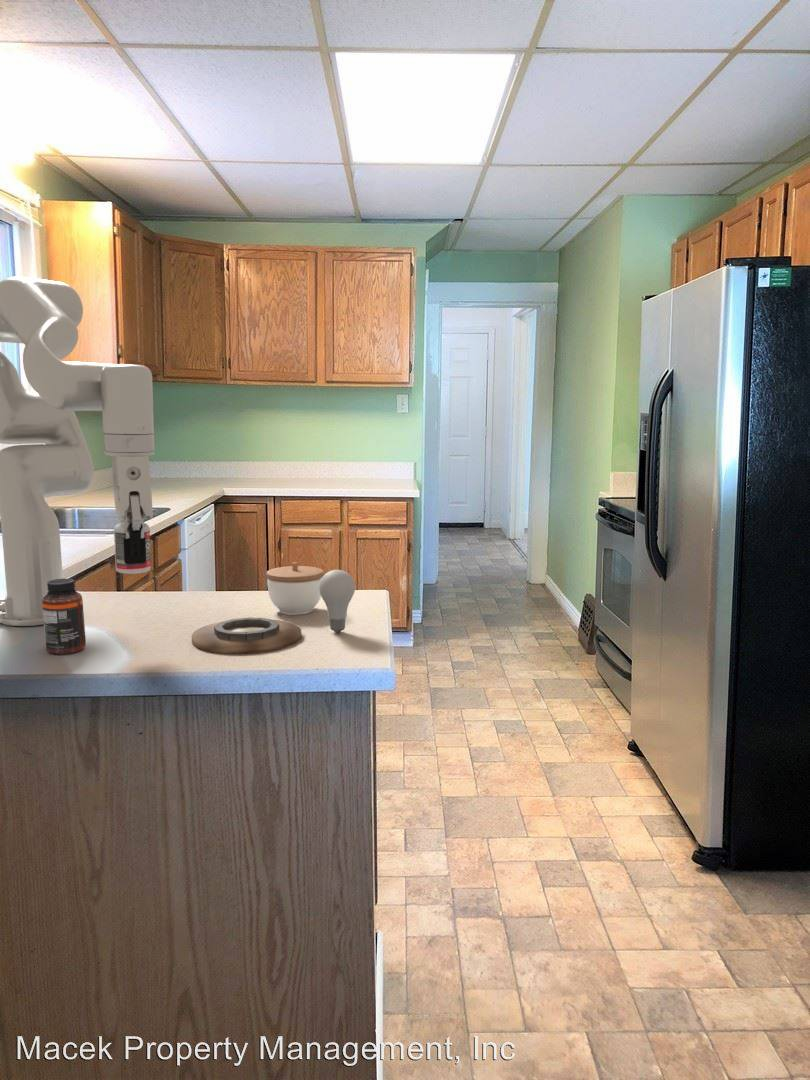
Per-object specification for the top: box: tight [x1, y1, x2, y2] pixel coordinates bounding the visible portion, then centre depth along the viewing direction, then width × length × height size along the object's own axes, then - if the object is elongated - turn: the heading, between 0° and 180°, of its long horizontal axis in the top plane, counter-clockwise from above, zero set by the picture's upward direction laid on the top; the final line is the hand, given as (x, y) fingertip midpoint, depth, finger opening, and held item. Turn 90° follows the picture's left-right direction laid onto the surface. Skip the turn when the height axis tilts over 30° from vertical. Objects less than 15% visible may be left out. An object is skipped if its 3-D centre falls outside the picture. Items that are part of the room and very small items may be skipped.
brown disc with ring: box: [191, 617, 302, 655], centre depth 139 cm, size 18×18×2 cm
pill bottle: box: [113, 511, 152, 575], centre depth 131 cm, size 5×5×10 cm
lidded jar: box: [266, 561, 325, 616], centre depth 157 cm, size 11×11×9 cm
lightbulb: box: [319, 569, 356, 634], centre depth 141 cm, size 6×6×11 cm
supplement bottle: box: [42, 578, 87, 656], centre depth 131 cm, size 6×6×11 cm
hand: (132, 558), depth 132 cm, fingers closed on pill bottle, 5 cm apart
